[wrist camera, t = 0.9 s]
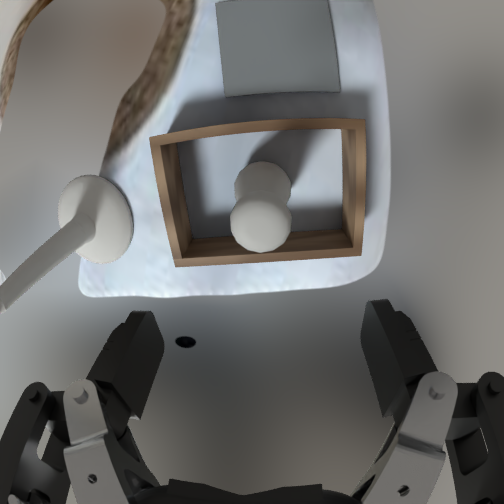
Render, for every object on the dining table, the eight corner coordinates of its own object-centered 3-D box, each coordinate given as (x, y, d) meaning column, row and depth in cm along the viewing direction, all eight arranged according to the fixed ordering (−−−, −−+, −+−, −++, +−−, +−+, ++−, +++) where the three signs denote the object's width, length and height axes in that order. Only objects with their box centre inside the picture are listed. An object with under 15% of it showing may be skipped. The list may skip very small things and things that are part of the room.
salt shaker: (294, 165, 28) (316, 198, 17) (282, 213, 31) (291, 274, 19) (242, 153, 28) (225, 177, 16) (231, 202, 31) (210, 256, 19)
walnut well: (166, 133, 27) (149, 137, 23) (349, 118, 25) (365, 119, 21) (186, 246, 33) (175, 267, 29) (349, 236, 32) (361, 255, 27)
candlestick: (108, 158, 28) (-116, 298, 2) (148, 247, 34) (17, 462, 7) (49, 197, 31) (-105, 318, 4) (85, 270, 36) (-27, 424, 10)
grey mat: (216, 5, 20) (215, 3, 19) (325, 0, 19) (326, -2, 18) (225, 97, 25) (224, 97, 25) (338, 92, 24) (340, 91, 24)
